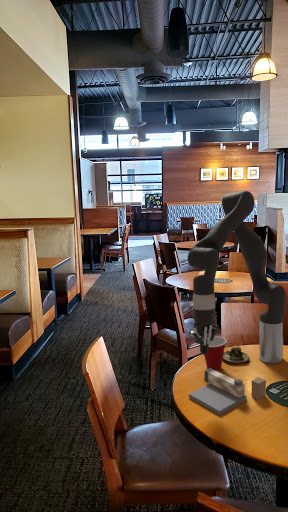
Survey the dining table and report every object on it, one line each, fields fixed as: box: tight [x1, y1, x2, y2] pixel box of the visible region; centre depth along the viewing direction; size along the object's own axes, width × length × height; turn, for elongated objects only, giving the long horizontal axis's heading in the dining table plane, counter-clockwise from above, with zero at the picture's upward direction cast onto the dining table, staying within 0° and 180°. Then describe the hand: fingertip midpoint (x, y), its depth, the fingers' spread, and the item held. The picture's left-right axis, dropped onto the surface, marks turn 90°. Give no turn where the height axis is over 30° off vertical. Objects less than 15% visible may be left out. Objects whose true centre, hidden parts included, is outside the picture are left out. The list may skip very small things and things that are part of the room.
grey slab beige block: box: [188, 376, 267, 416], centre depth 126 cm, size 21×17×6 cm
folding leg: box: [204, 368, 246, 398], centre depth 129 cm, size 16×3×5 cm, turn 37°
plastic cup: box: [203, 335, 227, 371], centre depth 148 cm, size 11×11×12 cm
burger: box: [223, 345, 250, 364], centre depth 155 cm, size 12×12×8 cm
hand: (204, 353), depth 125 cm, fingers closed
